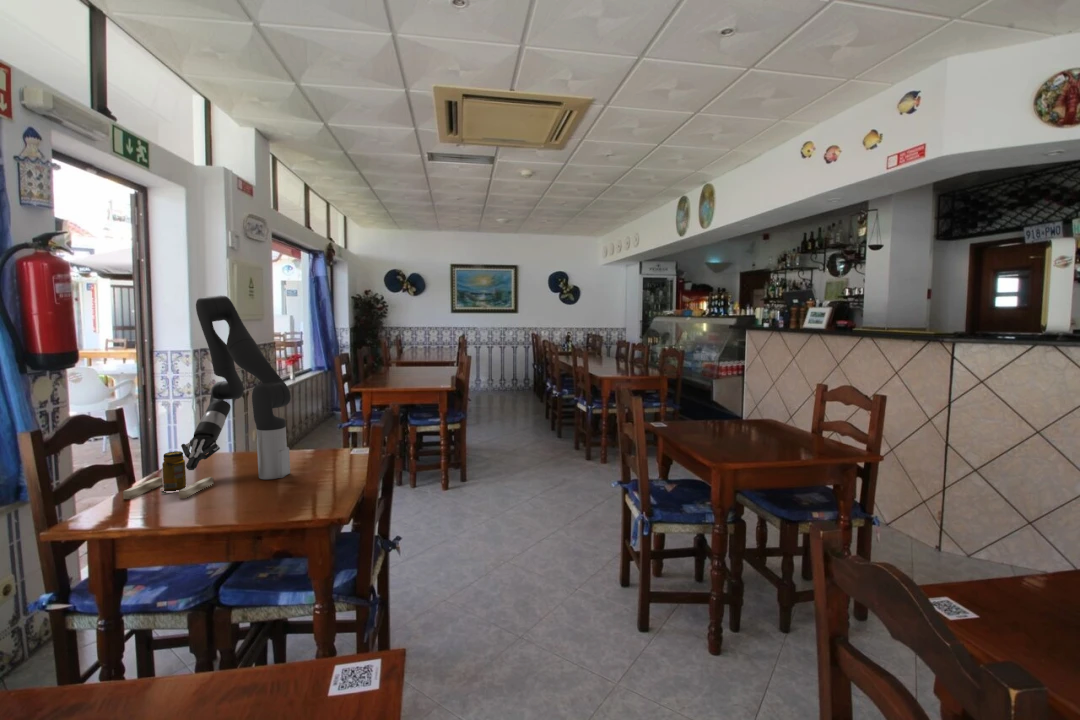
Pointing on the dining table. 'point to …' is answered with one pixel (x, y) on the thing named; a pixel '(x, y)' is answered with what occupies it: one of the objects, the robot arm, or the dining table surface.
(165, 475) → the condiment
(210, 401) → the robot arm
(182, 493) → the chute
